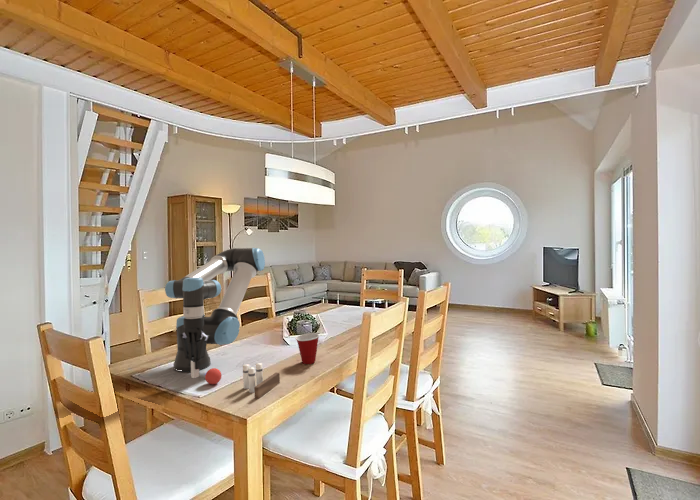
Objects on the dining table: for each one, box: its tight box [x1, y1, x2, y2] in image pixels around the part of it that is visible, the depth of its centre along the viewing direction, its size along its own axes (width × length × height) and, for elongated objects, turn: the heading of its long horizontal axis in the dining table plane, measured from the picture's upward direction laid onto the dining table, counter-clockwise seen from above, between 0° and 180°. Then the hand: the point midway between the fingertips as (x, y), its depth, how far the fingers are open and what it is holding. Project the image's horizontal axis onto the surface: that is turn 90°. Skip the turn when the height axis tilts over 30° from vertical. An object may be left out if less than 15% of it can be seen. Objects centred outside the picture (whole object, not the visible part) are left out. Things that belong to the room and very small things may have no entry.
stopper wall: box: [254, 372, 281, 400], centre depth 144 cm, size 2×15×4 cm, turn 161°
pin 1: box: [248, 366, 256, 394], centre depth 143 cm, size 2×2×9 cm
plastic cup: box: [295, 332, 320, 365], centre depth 175 cm, size 11×11×12 cm
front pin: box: [242, 363, 250, 390], centre depth 147 cm, size 2×2×9 cm
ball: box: [204, 367, 222, 385], centre depth 152 cm, size 6×6×6 cm
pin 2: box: [255, 362, 264, 386], centre depth 148 cm, size 2×2×9 cm
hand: (195, 377), depth 153 cm, fingers closed
